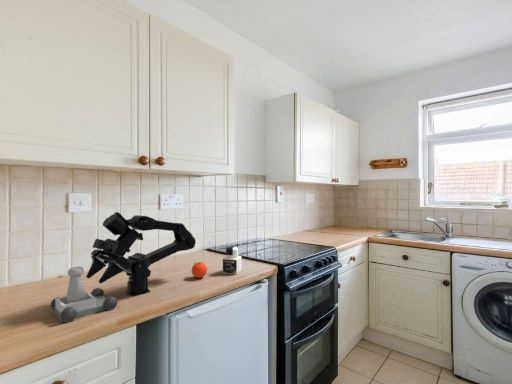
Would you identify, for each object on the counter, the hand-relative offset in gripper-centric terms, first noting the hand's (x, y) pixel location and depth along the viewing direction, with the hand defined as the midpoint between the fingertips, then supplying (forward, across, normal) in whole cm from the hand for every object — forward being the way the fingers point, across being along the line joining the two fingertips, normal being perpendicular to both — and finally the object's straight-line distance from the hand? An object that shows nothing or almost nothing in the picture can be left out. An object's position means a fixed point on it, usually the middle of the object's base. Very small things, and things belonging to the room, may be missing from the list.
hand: (93, 280), depth 97 cm
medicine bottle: (-34, +12, +48) cm, 60 cm away
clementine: (-24, +5, +37) cm, 44 cm away
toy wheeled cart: (+9, 0, +4) cm, 9 cm away
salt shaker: (+9, 0, +2) cm, 9 cm away
